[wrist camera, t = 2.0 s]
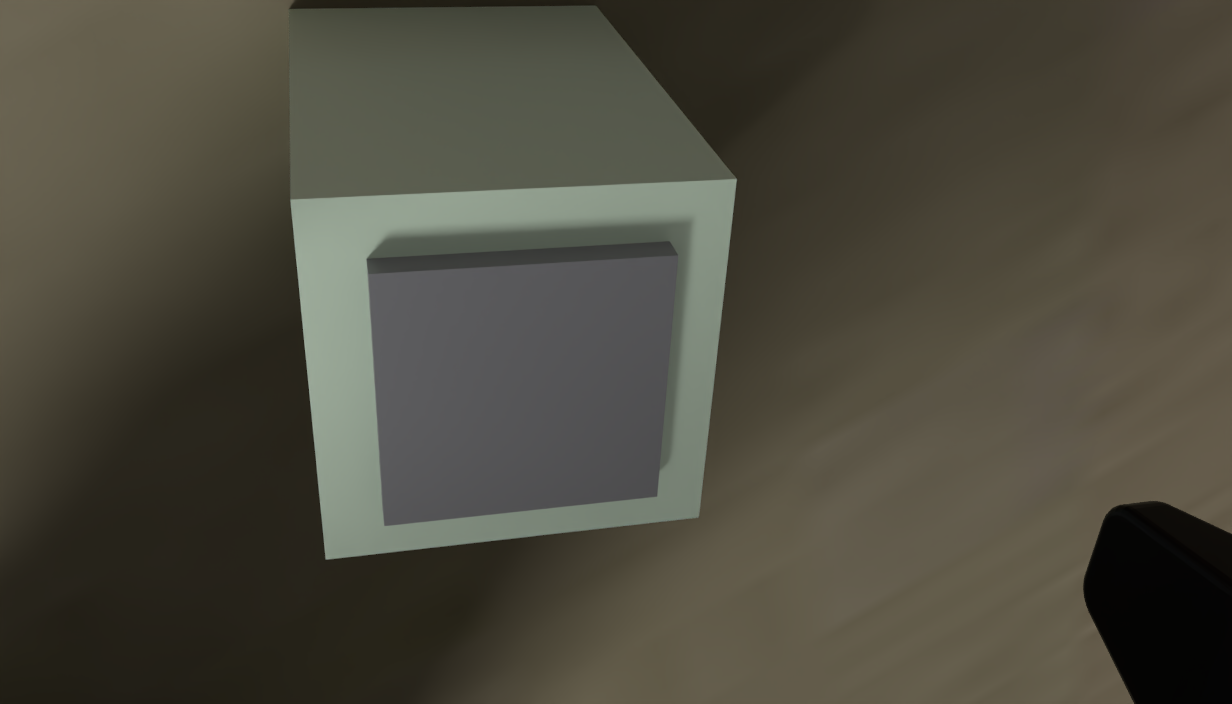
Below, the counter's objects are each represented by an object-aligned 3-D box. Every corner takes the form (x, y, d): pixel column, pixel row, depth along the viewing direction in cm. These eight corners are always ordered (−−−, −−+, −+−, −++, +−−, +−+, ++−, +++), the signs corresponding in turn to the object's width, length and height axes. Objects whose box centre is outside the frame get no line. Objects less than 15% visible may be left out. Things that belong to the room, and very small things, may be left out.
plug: (584, 269, 18) (706, 535, 13) (313, 287, 17) (326, 579, 12) (595, 5, 16) (747, 191, 11) (289, 8, 15) (289, 214, 10)
